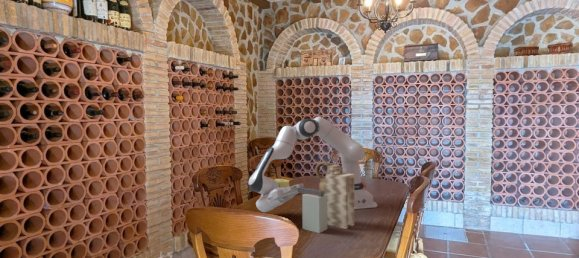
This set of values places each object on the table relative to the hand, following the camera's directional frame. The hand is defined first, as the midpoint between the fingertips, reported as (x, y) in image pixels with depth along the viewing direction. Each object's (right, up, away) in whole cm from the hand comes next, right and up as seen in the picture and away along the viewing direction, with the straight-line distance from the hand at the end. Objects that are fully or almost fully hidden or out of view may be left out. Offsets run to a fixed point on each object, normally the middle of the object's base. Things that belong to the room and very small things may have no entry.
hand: (296, 186), depth 182 cm
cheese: (-9, -17, +69) cm, 72 cm away
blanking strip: (+7, -3, -5) cm, 9 cm away
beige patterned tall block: (+22, -20, +1) cm, 29 cm away
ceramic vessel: (+24, -17, +50) cm, 58 cm away
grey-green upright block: (+9, -20, -6) cm, 23 cm away
